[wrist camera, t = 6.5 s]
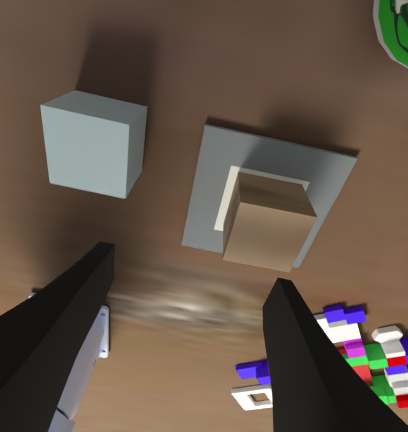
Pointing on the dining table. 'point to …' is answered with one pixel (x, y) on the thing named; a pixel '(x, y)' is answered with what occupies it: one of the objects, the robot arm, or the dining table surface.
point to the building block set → (353, 353)
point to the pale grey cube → (94, 142)
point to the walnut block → (266, 222)
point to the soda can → (392, 28)
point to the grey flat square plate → (262, 166)
